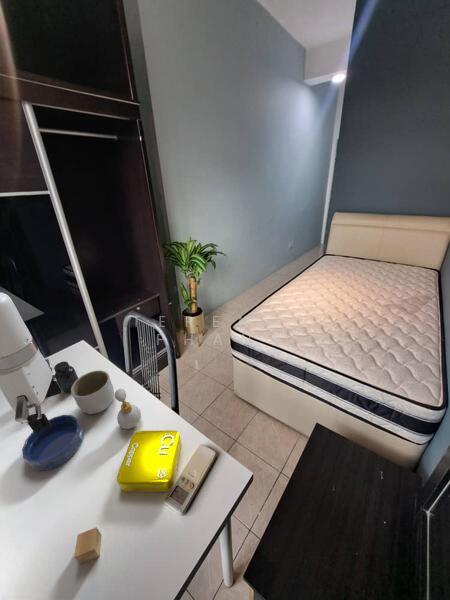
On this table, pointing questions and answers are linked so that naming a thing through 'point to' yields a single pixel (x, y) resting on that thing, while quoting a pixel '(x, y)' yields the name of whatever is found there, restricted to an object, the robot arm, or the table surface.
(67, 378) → the supplement bottle
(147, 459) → the element tile
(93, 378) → the planter
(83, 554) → the block
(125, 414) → the perfume bottle
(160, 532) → the table surface
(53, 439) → the bowl
